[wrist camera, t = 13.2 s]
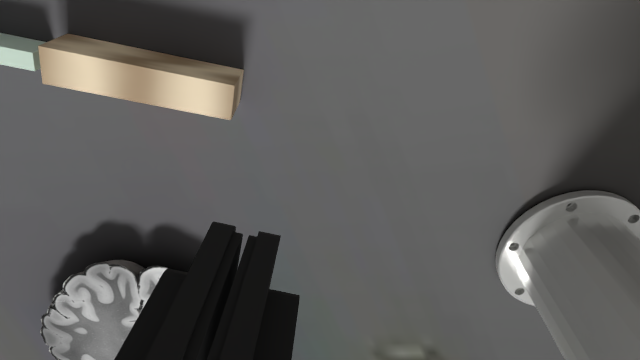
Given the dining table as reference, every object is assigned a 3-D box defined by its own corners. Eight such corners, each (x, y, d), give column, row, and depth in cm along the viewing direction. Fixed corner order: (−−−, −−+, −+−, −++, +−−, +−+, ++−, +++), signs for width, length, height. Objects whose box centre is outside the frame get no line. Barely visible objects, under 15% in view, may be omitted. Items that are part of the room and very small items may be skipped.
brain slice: (255, 251, 39) (250, 274, 37) (250, 369, 48) (246, 394, 45) (35, 231, 38) (14, 252, 36) (70, 355, 47) (55, 380, 44)
